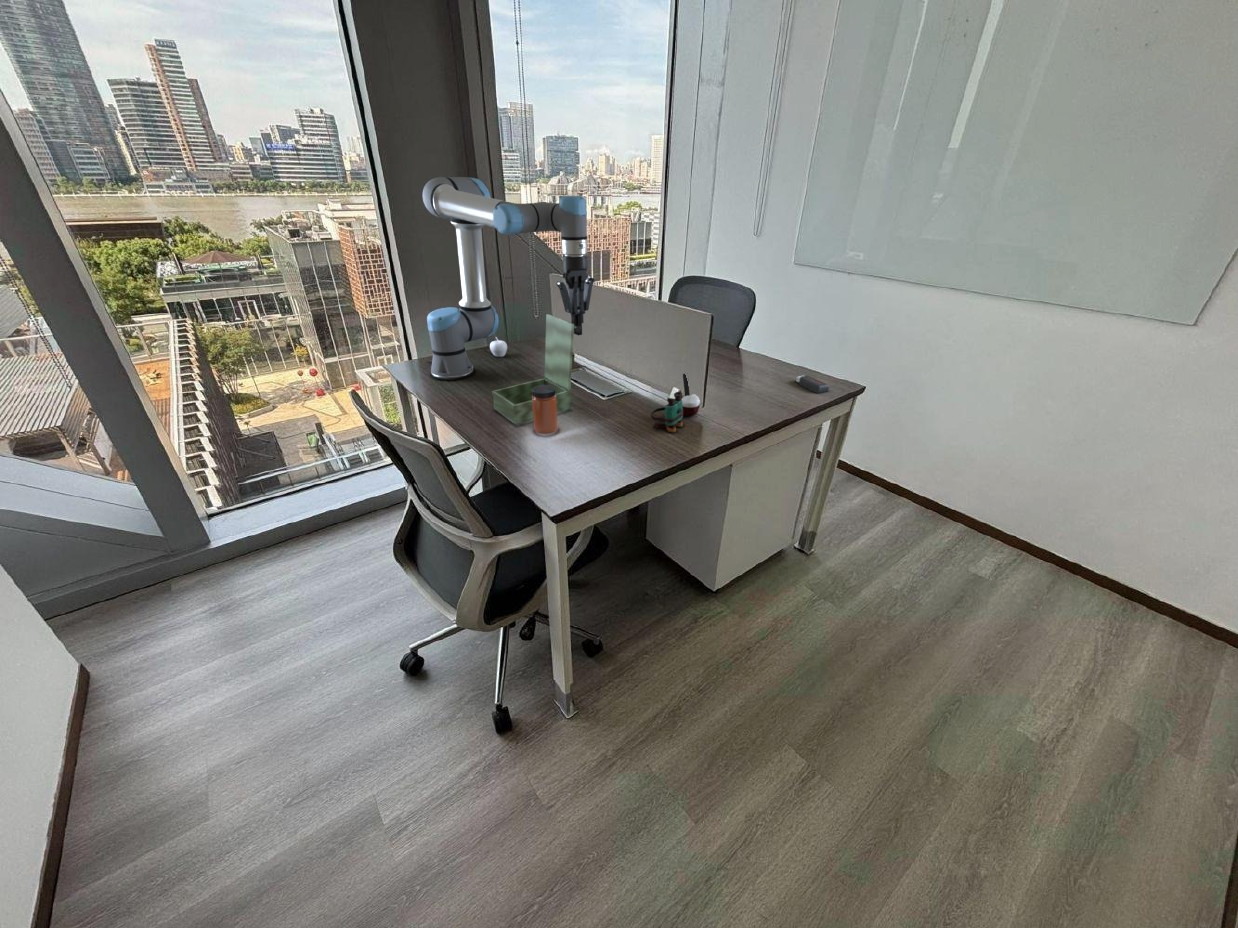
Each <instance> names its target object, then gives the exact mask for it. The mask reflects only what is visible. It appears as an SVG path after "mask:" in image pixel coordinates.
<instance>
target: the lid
mask: <svg viewBox="0 0 1238 928" xmlns="http://www.w3.org/2000/svg"><path fill="white" fill-rule="evenodd" d="M574 331H575V332H580V331H581V327H580V326H578V325H575V324H573V323H571V322H570V321H568V320H565V319H562V318H559V317H556V316H554V315H551V314H549V313H547V314H546V315H545V345H544V346H545V347H544V378H546V379H548V380H550V381H552V382H554V383H556V384H557V385H559V386H561V387H563V388H565V389H566V390H568V391H570V390H572V389H571V388H572V371H573V355H574V354H573V352H574V351H573V350H574V335H575V334H574Z"/></svg>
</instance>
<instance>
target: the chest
mask: <svg viewBox="0 0 1238 928" xmlns="http://www.w3.org/2000/svg"><path fill="white" fill-rule="evenodd" d="M538 385H551V386H553V387H555V395H556V400H557V413H560V412H564V411H568V410H570V409H571V395H570V394H571V391H570V390H568V389H566V388H564V387H562V386H561V385H559V384H557V383H555V382H553V381H551V380H550V379H548V378H546V377H543V378H540V379H535V380H531V381H528V382H524V383H520V384H516V385H511V386H507V387H503V388H499V389H495V390H492V391H491V394H492V400H493V402H492V403H493V408H494V410H495V411H497V412H498V413H500V415H502V416H504V417H505V418H506V419H508V420H509V421H511V422H512V423H513V424H514V425H519V424H523V423H526V422H529V421H534V420H533V407H532V388H533V387H535V386H538Z"/></svg>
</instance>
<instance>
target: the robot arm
mask: <svg viewBox="0 0 1238 928" xmlns="http://www.w3.org/2000/svg"><path fill="white" fill-rule="evenodd" d="M558 199H559V200H558V201H559V202H546V201H538V202H527V203H516V202H511V201H505V200H502V199H498V198H493V197H491V193H490V191H489V189H488V188H487V187H486V184H485V183H484V182H483V181H482V180H481V179H478V178H475V177H468V176H452V177H445V176H438V177H434V178H432V179H430V180H429V181H427V183H425V185H424V187H423V189H422V201H423V205H424V206H425V208H426V209H427V211H428V212H429V213H430V214H432V215H433V216H435V217H437V218H441V219H445V220H449V221H450V223H451V224H452V226H453V227H454V228H455V235H456V246H457V255H458V265H459V266H458V267H459V276H460V287H461V295H462V296H461V297H462V298H461V299H460V300H459V301H458V308H459V309H458V308H457V307H454V306H447V307H442V308H437V309H435V310H433V311H431V312H429V313H428V314H427V317H426V322H427V326H426V327H427V330H428V334H429V340H430V345H431V350H432V359H428V362H430V363H431V367H430V375H431V377H432V378H434V379H436V380H440V381H454V380H461V379H465V378H468V377H470V376H472V375H473V373H474V365H473V364H472V362H471V360H470V358H469V356H468V353H467V352H466V351H467V350H466V345H465V343H469V342H473V341H477V340H479V339H480V340H481V339H486V338H488V337H490V336H493V335H494V334H495V333H496V332H497V331H498V328H499V323H500V321H499V314H498V313H497V310H496V309H495V307H494V306H493V305H492V303H491V301H490V300H488V298H487V287H486V276H485V275H486V274H485V260H484V259H485V257H484V245H483V234H482V233H483V230H482V229H483V227H484V226H485V227H490V228H493V229H495V230H497V231H498V232H499V233H500V234H502V235H509V236H510V235H511V236H514V235H519V234H520V235H521V234H529V233H542V232H558V233H560V239H561V242H560V243H561V254H562V257H561V258H562V269H563V274H562V278H561V280H557V281H556V286H557V287H558V289H559V293H560V297H561V300H562V303H563V307H564V311H565V313H568V314H570V321H571V322H570V323H573V324H575V325H578V326H580V327H581V331H580V332H575V331H574V335H576V336H582V335H583V324H584V315H585V314H586V311H589V309H590V302H591V297H592V290H593V286H594V284H595V281H596V279H595V278H594V277H591V276H590V275H589V272H588V268H589V261H588V260H589V259H588V256H587V254H588V237H587V235H588V233H587V231H588V230H587V225H588V224H587V221H588V220H587V219H588V218H587V215H588V211H587V202H586V198H585V197H584V196H583V195H560V196H559V198H558Z"/></svg>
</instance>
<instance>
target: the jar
mask: <svg viewBox="0 0 1238 928" xmlns="http://www.w3.org/2000/svg"><path fill="white" fill-rule="evenodd" d="M532 407H533V420H532V421H533V430H534V432H536V433H538V434H540V435H548V434H554V433H555V432H558V430H559V421H558V412H557V400H556V395H555V387H553V386H551V385H538V386H535V387H533V388H532Z"/></svg>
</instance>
